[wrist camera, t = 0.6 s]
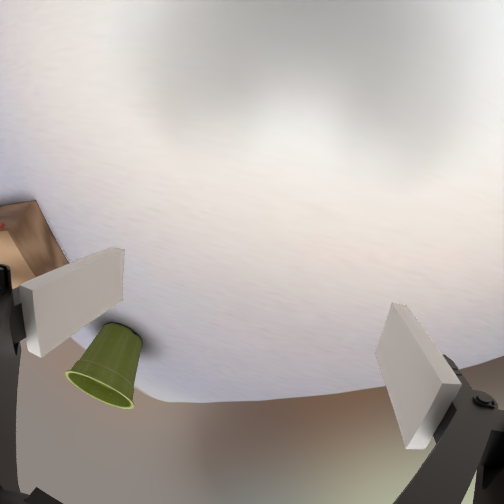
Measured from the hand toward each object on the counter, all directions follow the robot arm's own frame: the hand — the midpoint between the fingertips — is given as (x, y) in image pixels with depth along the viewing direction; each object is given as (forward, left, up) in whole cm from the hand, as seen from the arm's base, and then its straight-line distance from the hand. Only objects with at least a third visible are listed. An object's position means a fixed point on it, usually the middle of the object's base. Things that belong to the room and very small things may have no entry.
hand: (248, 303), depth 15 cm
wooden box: (+9, -37, -15) cm, 41 cm away
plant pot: (+29, -28, -16) cm, 43 cm away
